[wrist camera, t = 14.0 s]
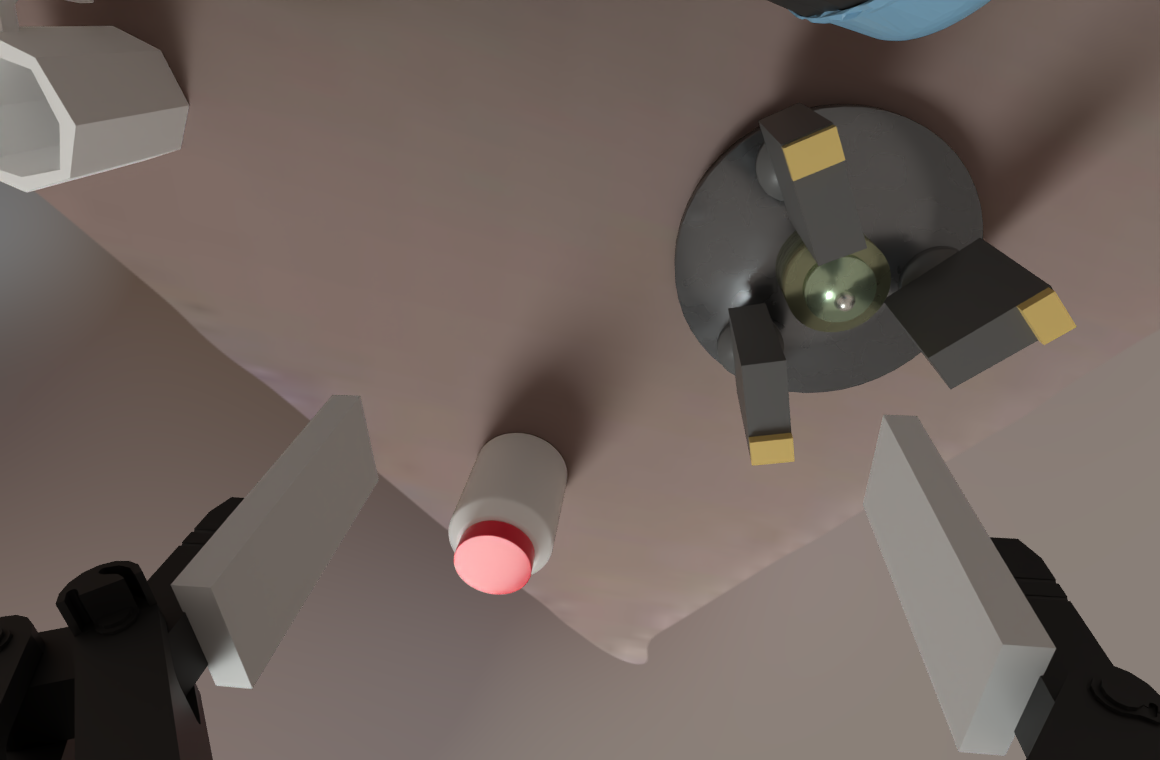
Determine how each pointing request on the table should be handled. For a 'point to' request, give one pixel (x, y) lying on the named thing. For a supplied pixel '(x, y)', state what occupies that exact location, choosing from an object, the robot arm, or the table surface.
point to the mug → (81, 102)
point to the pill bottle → (508, 513)
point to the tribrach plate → (758, 223)
